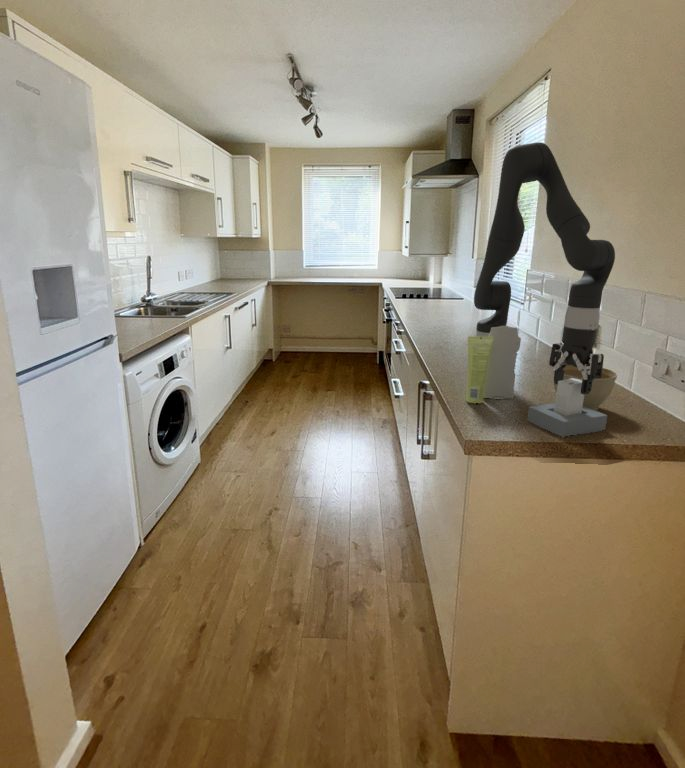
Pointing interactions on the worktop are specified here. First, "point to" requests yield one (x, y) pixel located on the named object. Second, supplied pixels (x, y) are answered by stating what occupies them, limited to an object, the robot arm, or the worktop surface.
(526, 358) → the worktop surface
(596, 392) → the planter bowl
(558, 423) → the socket frame
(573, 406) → the skincare box
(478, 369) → the tube
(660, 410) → the worktop surface
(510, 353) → the tall pale column
